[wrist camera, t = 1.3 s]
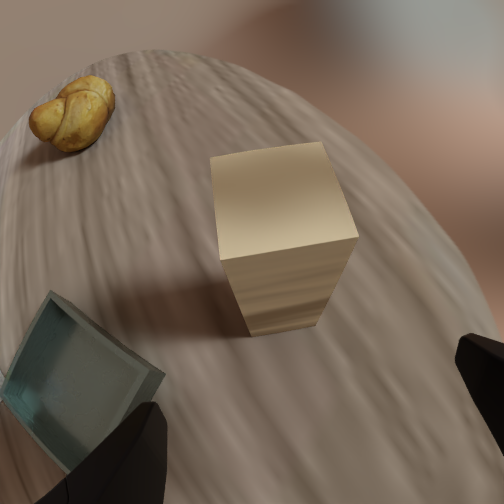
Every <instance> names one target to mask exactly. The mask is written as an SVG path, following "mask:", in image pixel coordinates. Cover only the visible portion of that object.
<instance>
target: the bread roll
mask: <svg viewBox="0 0 504 504" xmlns="http://www.w3.org/2000/svg"><path fill="white" fill-rule="evenodd" d="M114 109H115V94H114V93H113V90H112V87H111V86H110V84H109V83H108V82H107V81H105V80H103V79H100V78H98V77H95V76H92V75H89V76H86V77H80V78H78V79H77V80H75V81H73V82H71V83H69V84H68V85H67V86H66V87H64V88H63V89H62V90H61V91H60V93H59V94H58V96H57V97H56V99H54V100H52V101H49V102H47V103H45V104H43V105H40V106H38V107H36V108H34V110H33V111H32V113H31V114H30V117H29V127H30V129H31V131H32V132H33V134H34V135H35V136H36V137H38V138H39V139H40V140H41V141H43V142H48V141H50V143H51V144H52V145H54V146H56V147H57V149H59V150H61V151H64V152H72V151H73V152H74V151H77V150H81V149H83V148H85V147H87V146H89V145H90V144H92V143H93V142H94V141H96V140H97V139H98V138H99V136H100V135H101V133H102V132H103V130H104V128H105V125H106V123H107V122H108V121H109V119H110V117H111V115H112V113H113V111H114Z"/></svg>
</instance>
